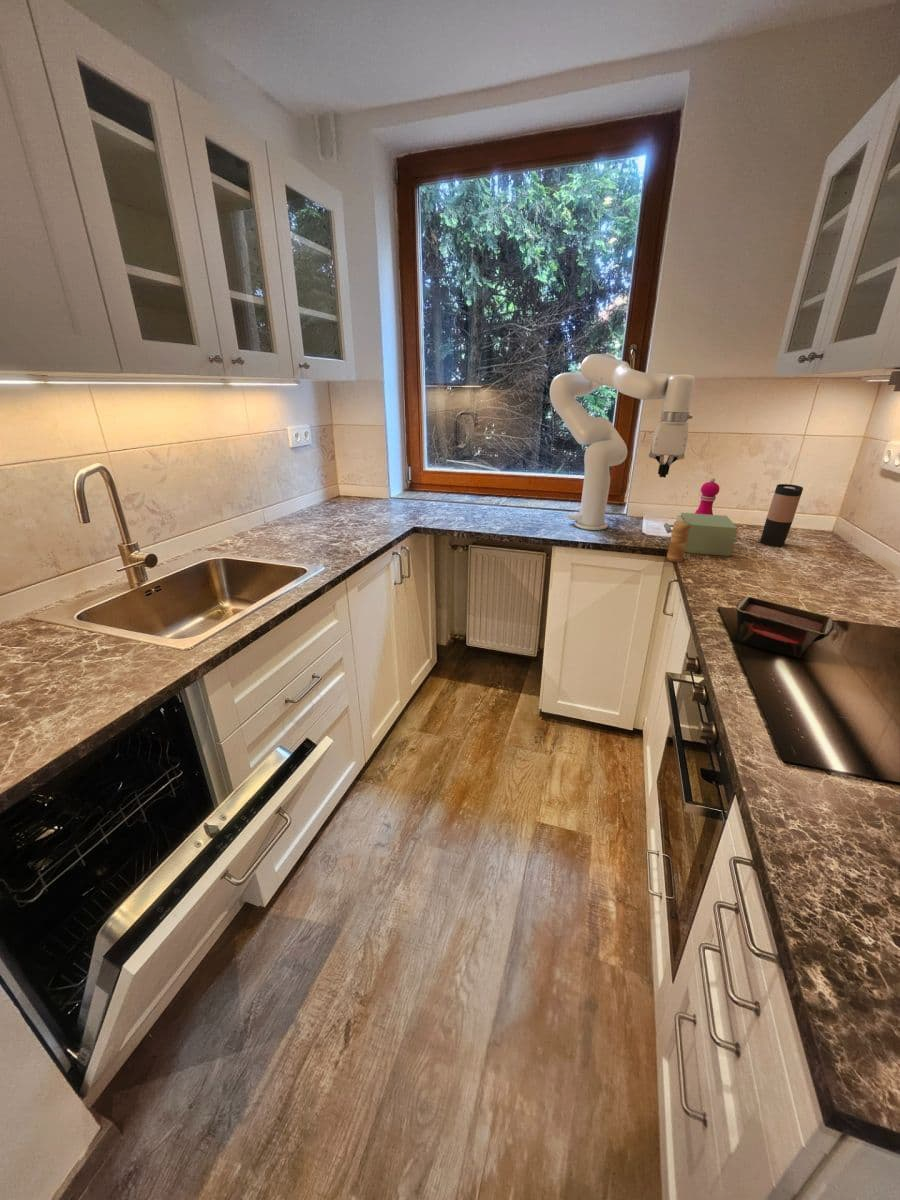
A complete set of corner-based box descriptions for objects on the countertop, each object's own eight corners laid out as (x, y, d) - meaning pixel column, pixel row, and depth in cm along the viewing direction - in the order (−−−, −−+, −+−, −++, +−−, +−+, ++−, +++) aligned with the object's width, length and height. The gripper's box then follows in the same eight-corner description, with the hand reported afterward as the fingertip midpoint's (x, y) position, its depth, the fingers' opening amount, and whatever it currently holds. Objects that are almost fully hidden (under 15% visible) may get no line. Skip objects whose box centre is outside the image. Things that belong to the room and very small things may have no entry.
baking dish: (745, 625, 117) (748, 588, 113) (835, 643, 104) (843, 602, 100) (723, 650, 108) (726, 611, 105) (819, 673, 96) (826, 629, 92)
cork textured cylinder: (667, 561, 151) (675, 524, 145) (665, 555, 155) (673, 520, 149) (683, 562, 149) (692, 526, 144) (681, 557, 154) (689, 521, 148)
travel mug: (762, 538, 171) (780, 482, 162) (787, 543, 166) (806, 486, 157) (756, 543, 166) (773, 486, 158) (781, 548, 161) (800, 490, 153)
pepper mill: (713, 534, 175) (728, 480, 166) (694, 534, 175) (707, 479, 166) (704, 528, 182) (718, 475, 173) (686, 528, 182) (698, 475, 173)
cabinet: (682, 552, 158) (688, 524, 154) (675, 538, 171) (681, 512, 166) (729, 556, 155) (737, 528, 150) (719, 542, 167) (726, 515, 163)
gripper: (697, 417, 150) (684, 475, 158) (647, 416, 153) (637, 473, 161) (702, 419, 143) (688, 480, 151) (650, 418, 147) (639, 477, 155)
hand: (662, 476), depth 156 cm, fingers closed
